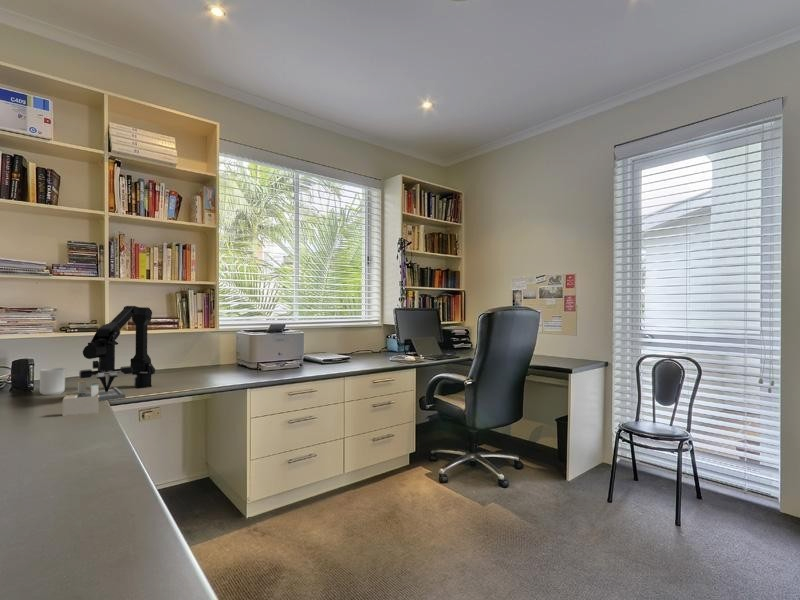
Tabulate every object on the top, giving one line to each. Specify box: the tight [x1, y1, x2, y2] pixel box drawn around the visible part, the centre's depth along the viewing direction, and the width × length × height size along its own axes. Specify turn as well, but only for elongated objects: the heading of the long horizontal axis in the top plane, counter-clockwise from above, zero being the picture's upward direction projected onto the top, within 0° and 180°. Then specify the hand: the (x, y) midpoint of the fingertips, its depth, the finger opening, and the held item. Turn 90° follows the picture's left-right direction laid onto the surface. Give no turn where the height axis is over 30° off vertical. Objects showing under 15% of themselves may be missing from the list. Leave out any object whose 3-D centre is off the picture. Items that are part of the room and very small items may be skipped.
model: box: [62, 393, 100, 417], centre depth 155 cm, size 3×11×8 cm, turn 118°
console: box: [65, 387, 126, 402], centre depth 181 cm, size 19×18×2 cm
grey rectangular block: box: [77, 380, 87, 394], centre depth 182 cm, size 2×4×5 cm, turn 43°
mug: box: [39, 367, 66, 396], centre depth 190 cm, size 12×9×11 cm
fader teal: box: [89, 382, 99, 396], centre depth 177 cm, size 2×4×5 cm, turn 43°
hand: (106, 391), depth 180 cm, fingers closed
